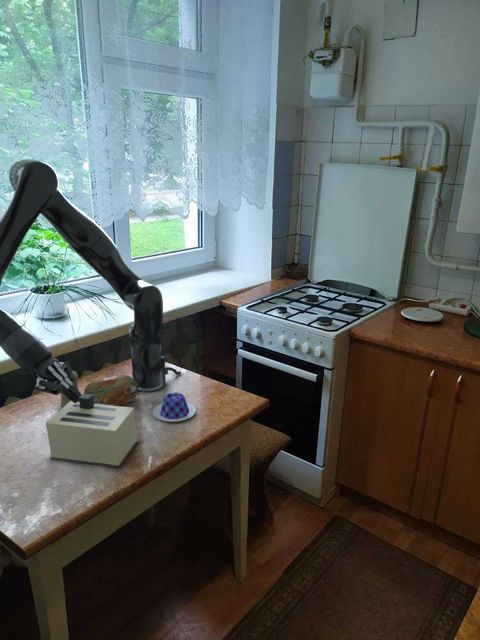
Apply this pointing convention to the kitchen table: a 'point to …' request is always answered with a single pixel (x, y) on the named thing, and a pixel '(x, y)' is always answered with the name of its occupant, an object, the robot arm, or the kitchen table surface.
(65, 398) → the pepper mill
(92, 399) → the slider button
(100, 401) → the tin
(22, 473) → the kitchen table surface
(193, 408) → the pudding
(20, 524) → the kitchen table surface
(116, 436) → the toaster
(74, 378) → the robot arm
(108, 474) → the kitchen table surface
